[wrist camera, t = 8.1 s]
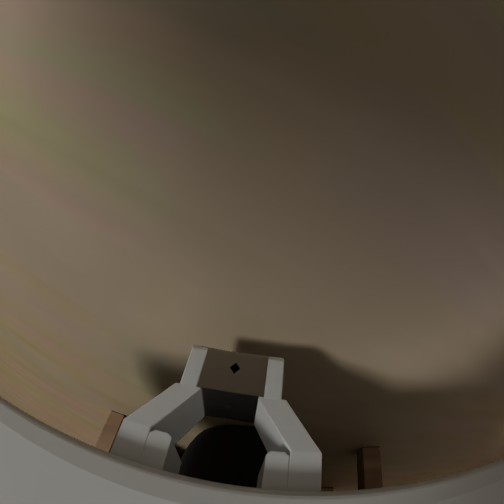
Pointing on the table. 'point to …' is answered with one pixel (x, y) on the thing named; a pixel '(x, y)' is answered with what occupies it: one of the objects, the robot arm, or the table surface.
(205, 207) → the table surface
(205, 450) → the mug
